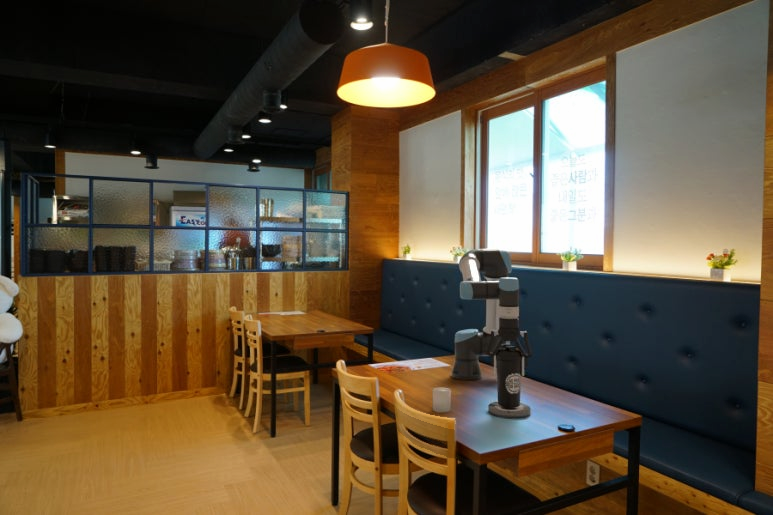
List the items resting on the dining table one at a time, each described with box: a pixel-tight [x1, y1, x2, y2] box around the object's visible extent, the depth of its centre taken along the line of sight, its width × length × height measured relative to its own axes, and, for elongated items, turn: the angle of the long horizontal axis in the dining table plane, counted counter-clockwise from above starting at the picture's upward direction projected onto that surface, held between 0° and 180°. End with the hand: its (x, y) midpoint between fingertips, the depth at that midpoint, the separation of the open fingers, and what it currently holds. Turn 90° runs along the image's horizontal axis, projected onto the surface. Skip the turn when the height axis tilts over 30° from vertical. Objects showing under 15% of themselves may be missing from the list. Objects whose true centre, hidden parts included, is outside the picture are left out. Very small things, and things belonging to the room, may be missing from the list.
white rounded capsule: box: [432, 386, 452, 414], centre depth 205 cm, size 7×7×8 cm
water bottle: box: [496, 343, 523, 407], centre depth 201 cm, size 10×10×23 cm
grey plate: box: [487, 401, 532, 420], centre depth 201 cm, size 16×16×2 cm
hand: (509, 374), depth 201 cm, fingers closed on water bottle, 10 cm apart
